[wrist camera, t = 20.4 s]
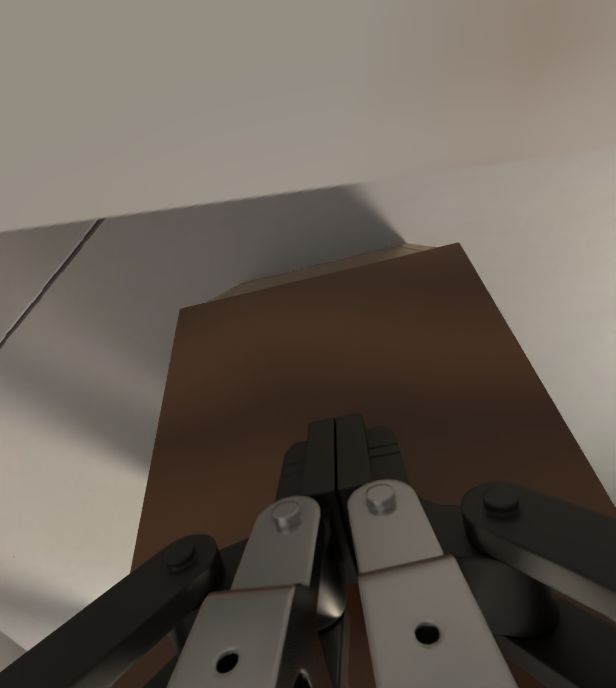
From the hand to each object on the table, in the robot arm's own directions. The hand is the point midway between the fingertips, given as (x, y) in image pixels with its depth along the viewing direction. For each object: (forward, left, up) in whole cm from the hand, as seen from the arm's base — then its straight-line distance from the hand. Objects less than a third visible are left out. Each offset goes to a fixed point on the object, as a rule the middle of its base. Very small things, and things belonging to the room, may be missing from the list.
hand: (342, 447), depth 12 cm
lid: (+1, 0, -2) cm, 2 cm away
